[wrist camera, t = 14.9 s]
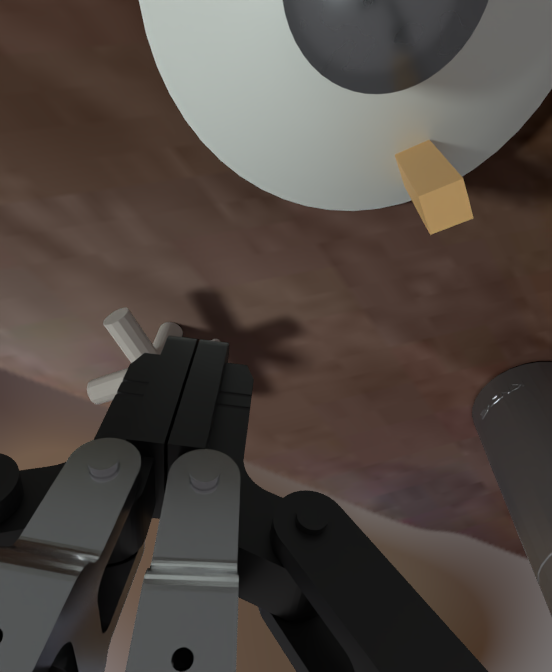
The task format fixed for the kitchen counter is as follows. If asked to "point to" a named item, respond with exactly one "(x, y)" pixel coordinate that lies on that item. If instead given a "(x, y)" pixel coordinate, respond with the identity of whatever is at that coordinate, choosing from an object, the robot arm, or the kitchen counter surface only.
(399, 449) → the kitchen counter surface
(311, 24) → the cover
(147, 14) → the platter
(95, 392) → the pipe connector
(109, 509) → the robot arm
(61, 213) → the kitchen counter surface
